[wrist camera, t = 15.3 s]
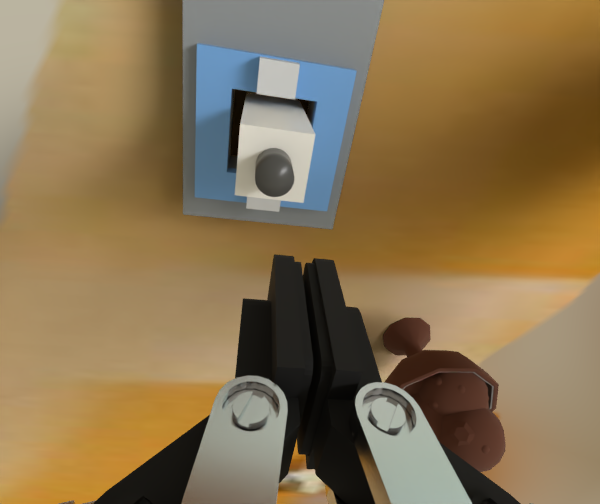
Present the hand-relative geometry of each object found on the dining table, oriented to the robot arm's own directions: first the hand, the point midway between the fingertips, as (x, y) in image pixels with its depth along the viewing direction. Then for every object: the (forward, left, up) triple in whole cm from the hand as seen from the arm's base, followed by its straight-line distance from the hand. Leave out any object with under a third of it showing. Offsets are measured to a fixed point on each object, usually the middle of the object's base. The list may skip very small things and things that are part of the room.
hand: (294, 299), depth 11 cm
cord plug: (0, 0, -22) cm, 22 cm away
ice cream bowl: (-18, +21, -22) cm, 35 cm away
